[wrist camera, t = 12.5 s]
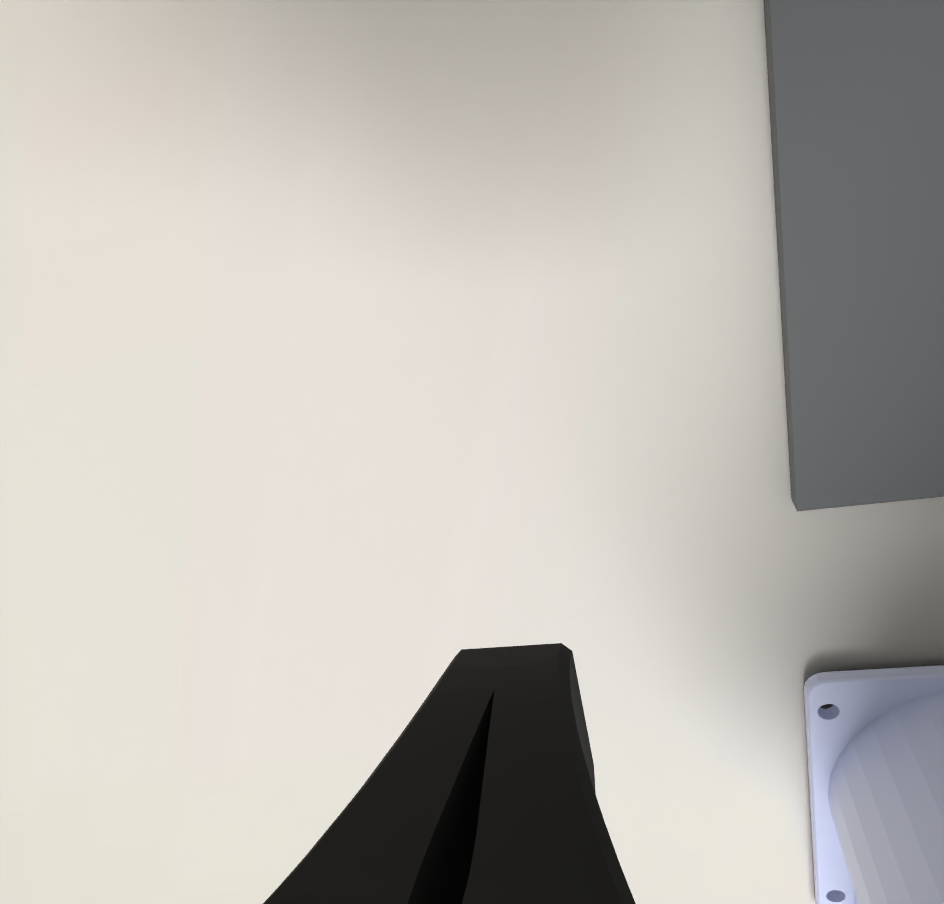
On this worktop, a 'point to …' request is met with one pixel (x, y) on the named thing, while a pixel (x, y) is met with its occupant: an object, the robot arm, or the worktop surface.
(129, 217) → the worktop surface
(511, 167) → the worktop surface
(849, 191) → the mat
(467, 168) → the worktop surface
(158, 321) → the worktop surface
